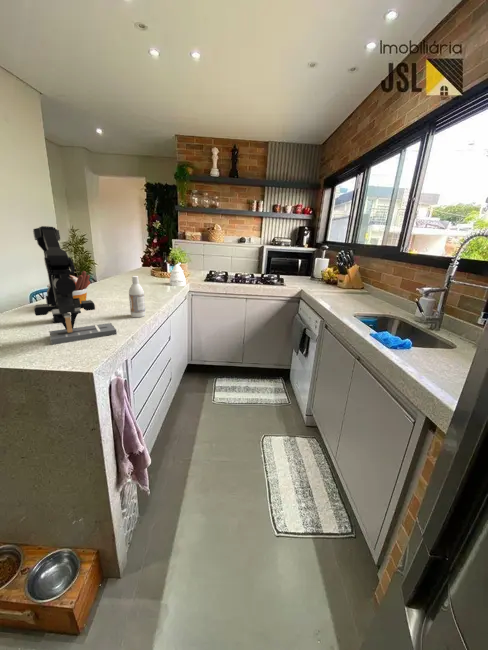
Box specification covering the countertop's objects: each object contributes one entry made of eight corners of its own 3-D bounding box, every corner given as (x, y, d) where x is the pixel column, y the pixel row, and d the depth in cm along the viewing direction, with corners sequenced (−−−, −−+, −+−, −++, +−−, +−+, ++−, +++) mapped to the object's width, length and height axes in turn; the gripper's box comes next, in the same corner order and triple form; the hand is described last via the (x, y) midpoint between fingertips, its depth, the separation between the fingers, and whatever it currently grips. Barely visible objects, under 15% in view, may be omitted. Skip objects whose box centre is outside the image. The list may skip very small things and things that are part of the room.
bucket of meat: (44, 310, 135) (36, 270, 128) (67, 302, 150) (61, 267, 144) (81, 313, 134) (75, 273, 127) (100, 305, 149) (96, 269, 143)
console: (50, 336, 104) (49, 330, 103) (111, 327, 116) (110, 322, 116) (51, 344, 96) (50, 339, 95) (116, 334, 109) (116, 329, 108)
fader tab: (66, 330, 103) (63, 313, 101) (72, 329, 105) (69, 313, 102) (67, 333, 101) (64, 316, 99) (73, 332, 102) (70, 315, 100)
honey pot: (181, 282, 228) (180, 261, 222) (188, 285, 219) (188, 263, 213) (167, 284, 220) (166, 262, 214) (174, 286, 211) (173, 263, 205)
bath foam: (129, 314, 135) (126, 275, 129) (143, 313, 139) (141, 275, 132) (132, 318, 130) (128, 277, 123) (146, 316, 133) (144, 277, 127)
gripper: (30, 295, 86) (39, 339, 91) (94, 291, 97) (100, 331, 102) (30, 289, 94) (39, 330, 99) (90, 285, 105) (95, 323, 110)
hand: (69, 328), depth 102 cm, fingers closed on fader tab, 2 cm apart
